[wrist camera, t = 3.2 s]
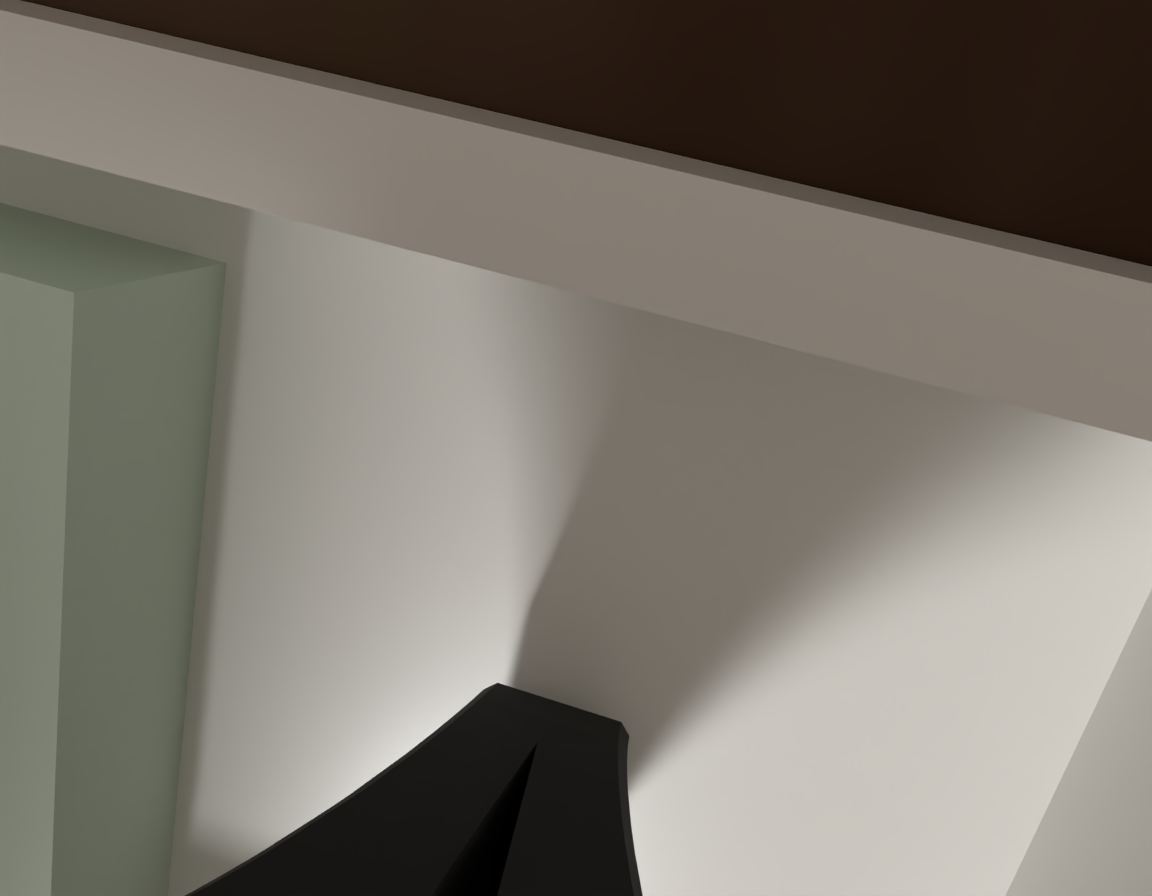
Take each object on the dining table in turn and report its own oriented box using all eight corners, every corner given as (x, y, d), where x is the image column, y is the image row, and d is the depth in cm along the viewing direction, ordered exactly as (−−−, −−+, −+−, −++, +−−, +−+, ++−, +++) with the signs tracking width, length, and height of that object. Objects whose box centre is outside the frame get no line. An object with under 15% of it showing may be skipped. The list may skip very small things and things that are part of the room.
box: (882, 1216, 12) (920, 1627, 8) (-488, 709, 14) (-862, 872, 11) (1329, 308, 8) (1715, 417, 5) (-652, -159, 11) (-1303, -301, 7)
